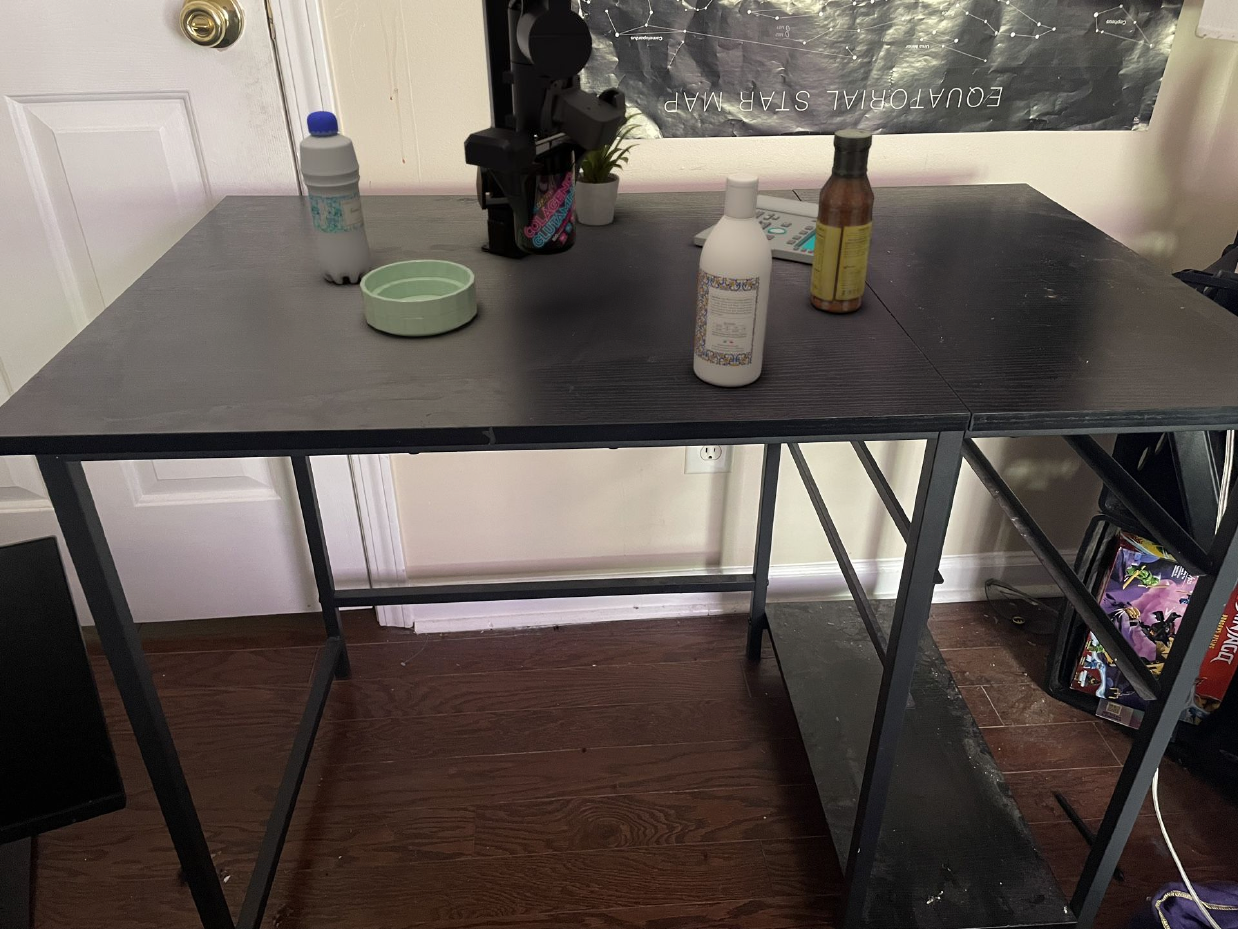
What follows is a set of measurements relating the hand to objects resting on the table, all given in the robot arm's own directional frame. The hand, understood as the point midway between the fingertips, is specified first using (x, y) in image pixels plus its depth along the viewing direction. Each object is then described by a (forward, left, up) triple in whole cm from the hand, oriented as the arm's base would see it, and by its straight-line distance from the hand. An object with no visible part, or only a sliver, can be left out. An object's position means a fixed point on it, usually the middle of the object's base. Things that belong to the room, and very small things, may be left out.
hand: (545, 217), depth 97 cm
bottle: (+3, -29, -12) cm, 32 cm away
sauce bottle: (-22, +26, -12) cm, 36 cm away
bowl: (+7, -13, -12) cm, 19 cm away
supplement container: (0, 0, -3) cm, 3 cm away
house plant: (-34, -14, -12) cm, 39 cm away
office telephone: (-43, +12, -12) cm, 46 cm away
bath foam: (+1, +23, -12) cm, 26 cm away
